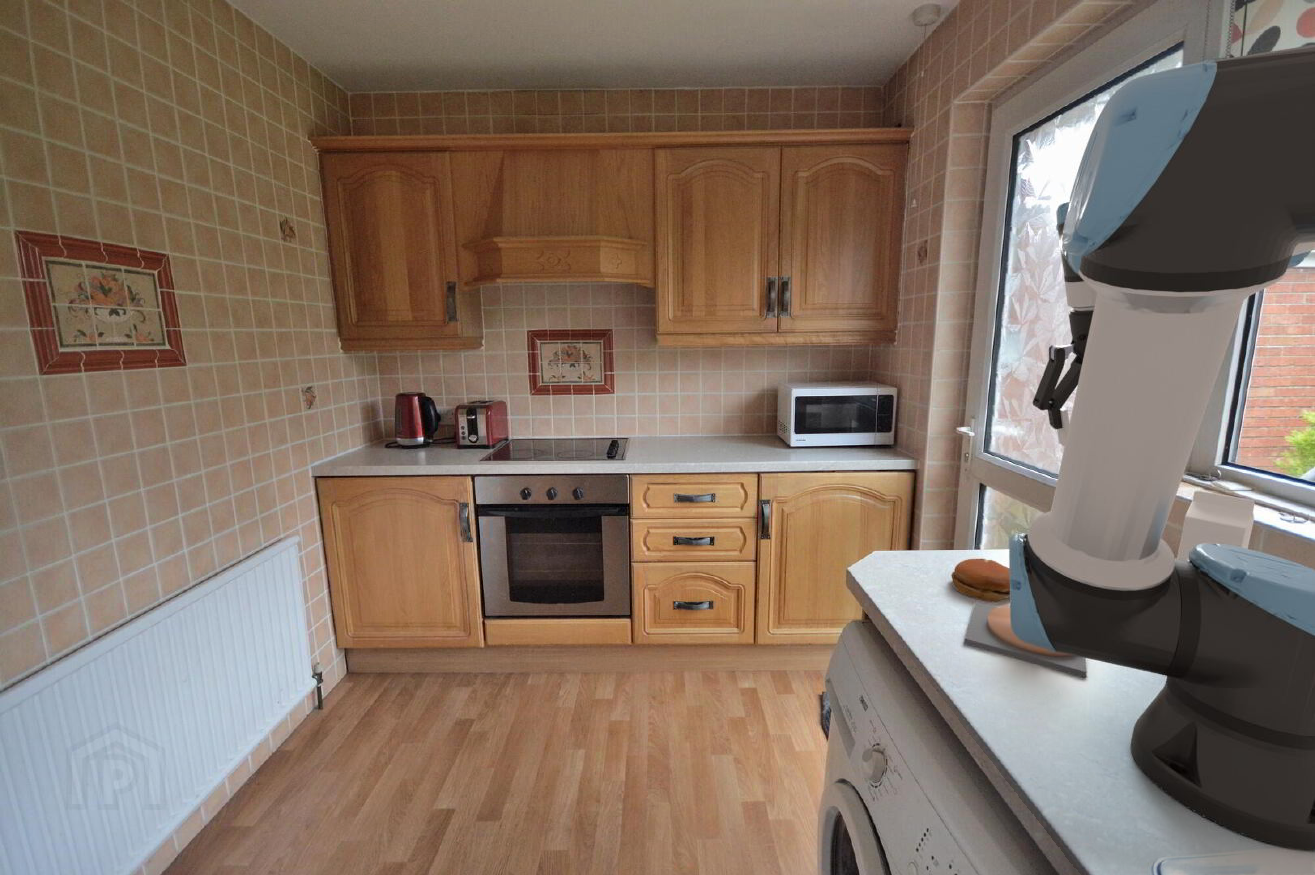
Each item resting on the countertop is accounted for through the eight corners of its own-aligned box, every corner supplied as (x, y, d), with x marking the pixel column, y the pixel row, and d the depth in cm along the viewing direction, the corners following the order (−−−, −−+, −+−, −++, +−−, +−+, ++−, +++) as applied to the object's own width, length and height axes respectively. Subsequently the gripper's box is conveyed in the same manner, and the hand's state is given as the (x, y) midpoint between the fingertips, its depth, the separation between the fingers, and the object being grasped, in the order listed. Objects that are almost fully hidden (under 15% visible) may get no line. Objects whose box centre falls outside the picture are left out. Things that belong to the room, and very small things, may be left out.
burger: (961, 600, 94) (964, 574, 93) (944, 576, 103) (947, 552, 102) (1027, 606, 92) (1031, 579, 91) (1004, 581, 101) (1007, 556, 100)
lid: (1031, 661, 75) (1041, 590, 73) (969, 617, 86) (976, 554, 84) (1104, 652, 77) (1116, 583, 75) (1035, 610, 88) (1043, 549, 86)
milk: (1217, 659, 77) (1252, 505, 72) (1159, 640, 82) (1188, 494, 77) (1226, 644, 81) (1260, 496, 76) (1171, 626, 85) (1199, 486, 81)
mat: (1085, 677, 73) (1086, 672, 73) (964, 643, 81) (964, 638, 81) (1082, 632, 84) (1083, 628, 83) (974, 606, 91) (975, 601, 91)
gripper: (1182, 272, 83) (1192, 406, 88) (996, 324, 90) (1017, 445, 95) (1220, 276, 76) (1228, 421, 82) (1015, 332, 83) (1036, 462, 88)
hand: (1114, 434), depth 88 cm, fingers open, 13 cm apart
